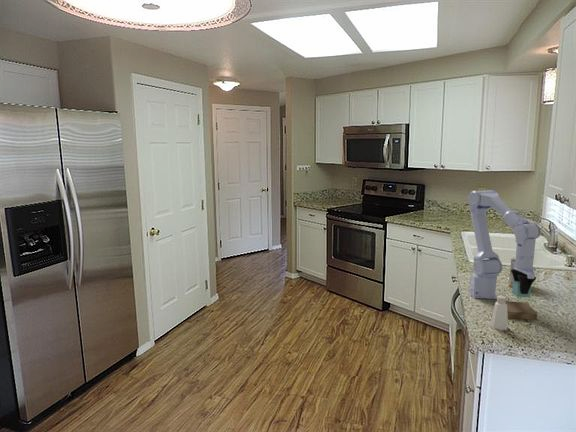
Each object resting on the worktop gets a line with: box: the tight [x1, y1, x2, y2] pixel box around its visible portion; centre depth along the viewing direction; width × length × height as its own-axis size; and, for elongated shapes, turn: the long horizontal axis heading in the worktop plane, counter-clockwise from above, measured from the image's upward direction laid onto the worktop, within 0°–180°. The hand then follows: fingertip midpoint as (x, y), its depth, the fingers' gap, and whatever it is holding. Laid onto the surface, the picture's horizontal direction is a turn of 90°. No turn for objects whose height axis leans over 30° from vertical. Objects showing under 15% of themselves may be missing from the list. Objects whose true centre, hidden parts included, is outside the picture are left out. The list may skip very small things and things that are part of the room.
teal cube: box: [511, 281, 532, 298], centre depth 149 cm, size 4×4×4 cm
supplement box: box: [508, 254, 516, 288], centre depth 178 cm, size 8×5×13 cm, turn 140°
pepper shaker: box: [490, 295, 509, 331], centre depth 138 cm, size 5×5×11 cm
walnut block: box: [505, 300, 538, 321], centre depth 150 cm, size 10×10×2 cm
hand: (521, 291), depth 149 cm, fingers closed on teal cube, 4 cm apart
